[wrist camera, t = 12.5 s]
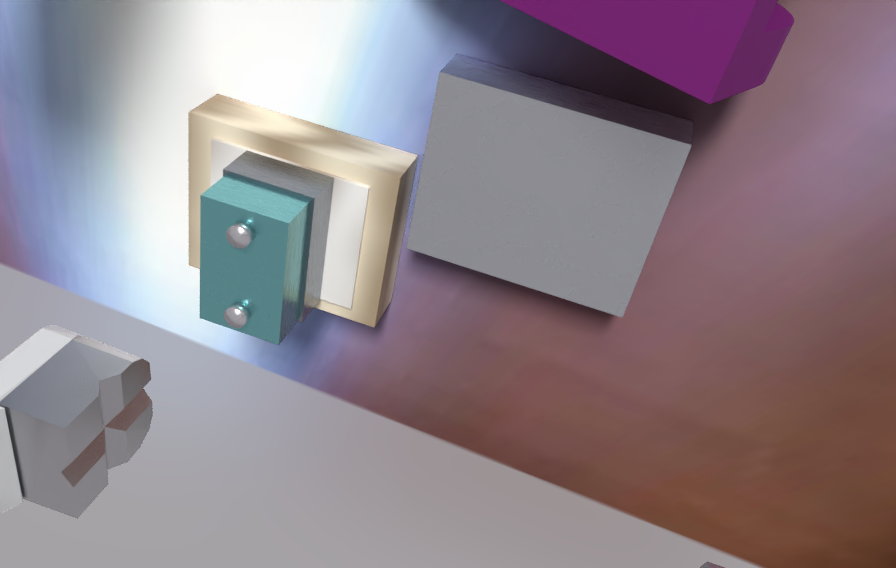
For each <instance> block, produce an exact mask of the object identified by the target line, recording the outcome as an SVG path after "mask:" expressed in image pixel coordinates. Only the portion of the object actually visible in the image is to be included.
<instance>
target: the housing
mask: <svg viewBox="0 0 896 568" xmlns="http://www.w3.org/2000/svg"><path fill="white" fill-rule="evenodd" d="M333 185H334V177H331V176H328V175H324V174H321V173H318V172H315V171H311V170H308V169H305V168H302V167H299V166H295V165H292V164H289V163H286V162H283V161H279V160H276V159H273V158H270V157H267V156H263V155H260V154H257V153H254V152H250V151H245V152H244V153H243V154H242V155H240V156H239V157H238V158H237V159H235V160H234V161H233V162H232V163H230V164H229V165H228V166H227V167H225V168H224V169H223V177H222V178H221V179H220V180H218V181H217V182H216V183H215V184H213V185H212V186H211V187H210V188H209V189H207V190H206V191H205V192H204V193H202V194H201V195H200V318H202V319H204V320H207V321H210V322H213V323H216V324H219V325H222V326H225V327H228V328H231V329H234V330H237V331H239V332H242V333H245V334H248V335H251V336H254V337H257V338H260V339H263V340H266V341H269V342H272V343H274V344H277V345H279V344H280V343H281V342H282V340H283V339H284V338H285V336H286V335H287V334H288V332H289V331H290V330H291V329H292V327H293V326H294V325H295V323H296V322H297V321H299V322H303V321H304V319H305V318H306V317H307V316H308V314H309V313H310V312H311V310H312V309H313V308H314V306H315V305H316V304H317V302H318V301H319V300H320V297H321V288H322V280H323V271H324V262H325V254H326V245H327V237H328V228H329V219H330V211H331V202H332V193H333Z"/></svg>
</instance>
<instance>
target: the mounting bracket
mask: <svg viewBox="0 0 896 568" xmlns="http://www.w3.org/2000/svg"><path fill="white" fill-rule="evenodd" d="M500 1H502V2H504V3H506V4H508V5H510V6H512V7H514V8H516V9H518V10H520V11H522V12H524V13H526V14H528V15H530V16H532V17H534V18H536V19H539V20H541V21H543V22H545V23H547V24H549V25H551V26H553V27H555V28H557V29H559V30H561V31H563V32H565V33H567V34H569V35H571V36H573V37H575V38H577V39H579V40H581V41H583V42H585V43H587V44H589V45H591V46H593V47H595V48H597V49H599V50H601V51H603V52H605V53H607V54H609V55H611V56H613V57H615V58H617V59H619V60H621V61H623V62H625V63H627V64H629V65H631V66H633V67H635V68H637V69H639V70H641V71H643V72H645V73H647V74H649V75H651V76H653V77H655V78H657V79H659V80H661V81H663V82H665V83H668V84H670V85H672V86H674V87H676V88H678V89H680V90H682V91H684V92H686V93H688V94H690V95H692V96H694V97H696V98H698V99H700V100H702V101H704V102H706V103H708V104H712V103H715V102H718V101H720V100H723V99H725V98H728V97H731V96H733V95H736V94H738V93H741V92H744V91H746V90H749V89H752V88H754V87H757V86H759V85H761V84H763V83H764V82H765V80H766V78H767V76H768V74H769V72H770V70H771V68H772V66H773V64H774V62H775V60H776V58H777V56H778V54H779V51H780V49H781V47H782V45H783V43H784V41H785V39H786V37H787V35H788V33H789V31H790V29H791V27H792V25H793V23H794V18H793V16H792V15H791V14H790V13H789V12H788V11H787V10H786V9H785V8H783V7H782V6H781V5H779V4H778V3H777V1H778V0H500Z"/></svg>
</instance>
